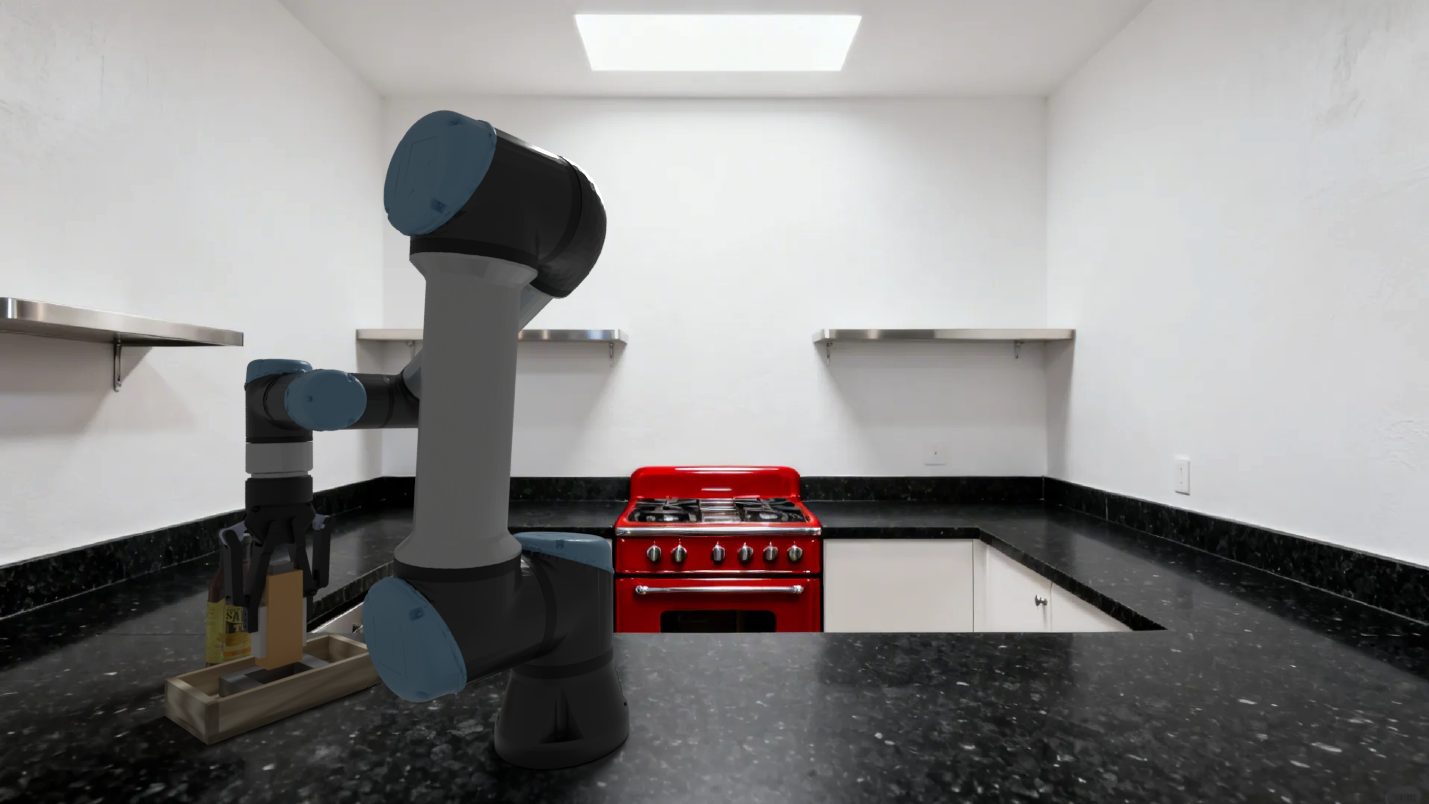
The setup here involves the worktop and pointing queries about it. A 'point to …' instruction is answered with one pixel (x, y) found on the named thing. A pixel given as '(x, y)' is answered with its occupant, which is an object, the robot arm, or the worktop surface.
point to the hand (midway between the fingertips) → (279, 649)
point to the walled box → (266, 688)
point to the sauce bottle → (226, 616)
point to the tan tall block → (283, 615)
